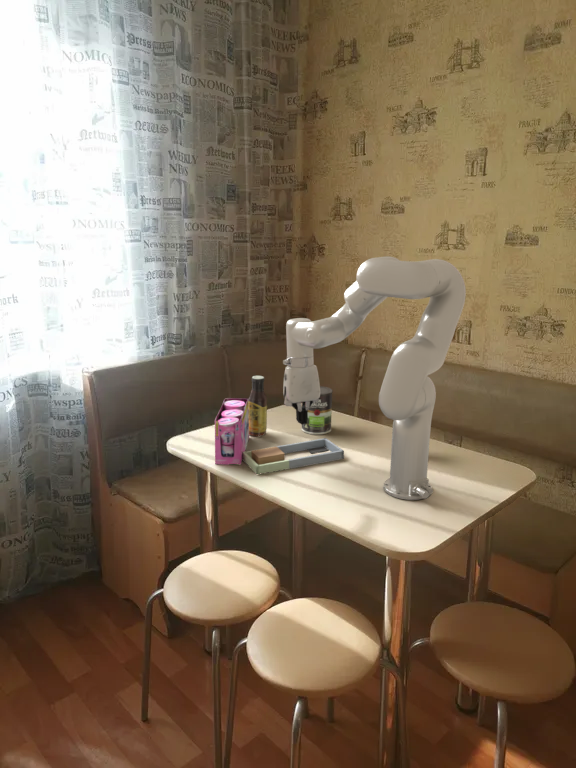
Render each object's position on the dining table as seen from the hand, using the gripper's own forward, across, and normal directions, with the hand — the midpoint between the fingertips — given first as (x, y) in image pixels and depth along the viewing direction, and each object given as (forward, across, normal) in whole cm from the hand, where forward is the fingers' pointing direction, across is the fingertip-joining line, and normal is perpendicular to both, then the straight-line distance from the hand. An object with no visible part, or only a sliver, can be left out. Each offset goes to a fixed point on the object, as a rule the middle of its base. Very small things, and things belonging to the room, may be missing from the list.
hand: (302, 422), depth 171 cm
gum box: (+11, -17, +15) cm, 25 cm away
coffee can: (+11, +15, +21) cm, 28 cm away
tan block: (+12, -11, +1) cm, 16 cm away
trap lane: (+11, -3, +1) cm, 12 cm away
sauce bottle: (+11, -5, +25) cm, 28 cm away
